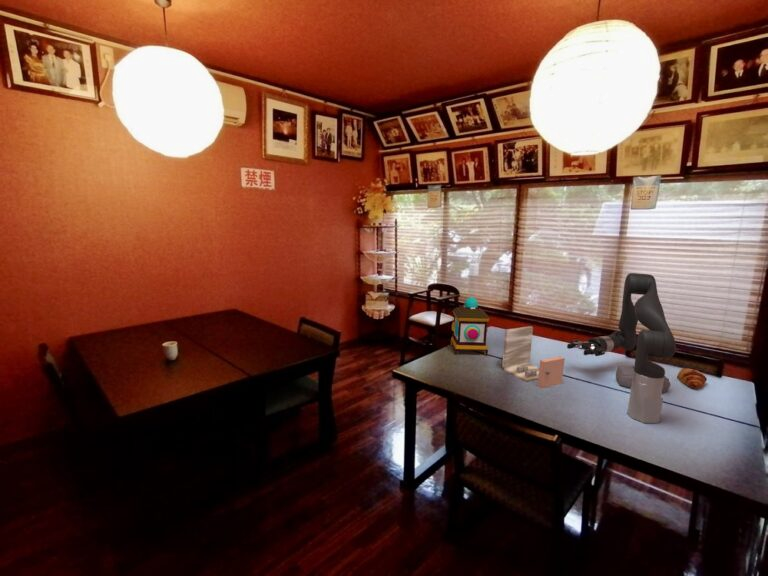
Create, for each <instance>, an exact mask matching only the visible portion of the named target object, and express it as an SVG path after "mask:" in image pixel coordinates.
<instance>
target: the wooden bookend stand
mask: <svg viewBox="0 0 768 576" xmlns="http://www.w3.org/2000/svg"><path fill="white" fill-rule="evenodd" d="M504 330H505V331H504V341H503V342H504V343H503V353H502V354H503V355H502V367H501V369H502V371H503V370H504V371H505V372H507V373H509V374H510V375H512V376H514V377H516V378H518V379H519V380H521V381H523V382H524V383H525V382H526V383H528V382H532V381H538V376H539V367H537V366H535V365H534V364H531V363H530V361H531V353H532V352H531V350H532V342H533V341H532V340H533V332H534V327H533V326H522V327H515V328H508V329H504Z"/></svg>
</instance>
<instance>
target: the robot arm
mask: <svg viewBox="0 0 768 576" xmlns="http://www.w3.org/2000/svg"><path fill="white" fill-rule="evenodd" d="M632 294H633V295H642V296H641V297H639V298H638V299H637V300H636V302H635V303H633V300H632ZM621 303H622V306H621V314H620V318H619V322H618V326H617V327H618V330H615V331H614V332H612V333H611V334H609V335H604V336H596V337H592V338H589V339H588V340H587V341H582V340H581V339H574V340H573V339H571V340H569V342H570V343H567V344H566V348H567V349H568V350H570V349H577V350H582V351H583V355H584V356H588V355H591V356H593V355H594V357H600V356H604V355H605V354H606V353H608V352H610V351H616V350H618V349H623V350H625V351H632V350H634V349H636V351H635V359H634V365H633V366H634V372H633V378H632V385H631V388H630V391H629V392H630V393H629V398H628V403H627V404H628V406H627V413H626V414H627V415H628V416H629V417H630V418H632V419H634V420H635V421H639V422H641V423H643V424H651V423H653V424H657V423H658V424H659V423H660V418H661V411H662V407H663V401H664V399H663V398H662V387H663V382H664V376H665V377H666V369H665V368H664V367H663V366H661V365H660V364H657V363H656V362H653V361H651V360H649V358H648V357H653V358H654V357H655V358H662V359H669V358H672V357H673V356H674V355H675V353H676V349H677V348H676V347H677V346H676V345H677V344H676V340H675V337H674V334H673V333H672V330H671V329H670V327H669V325H668V322H667V319H666V316H665V311H664V308H663V305H662V303H661V300H660V297H659V294H658V287H657V281H656V279H655V276H653V275H651V274H648V273H638V272H637V273H636V272H630V273H628V274H627V275H626V276H625V280H624V285H623V294H622V302H621ZM638 323H640V324H641V325H642V326H644V327H645V328H647V329H641V330H640V331H639V332H638V335H637V325H638Z"/></svg>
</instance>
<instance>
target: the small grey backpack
mask: <svg viewBox="0 0 768 576" xmlns="http://www.w3.org/2000/svg"><path fill="white" fill-rule="evenodd" d="M634 366H635V365H631V366H628V365H618V366H617V368H616V371H615V378H616V382H617V384H618V385H619V386H621V387H625V388H628V389H631V385H632V378H633V372H634ZM670 387H671V382H670V379H669V378H668V377H667V376H666V375H665V376H664V382H663V387H662V393H666V392H668V389H669V388H670ZM662 393H661V394H662Z"/></svg>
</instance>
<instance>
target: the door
mask: <svg viewBox="0 0 768 576" xmlns="http://www.w3.org/2000/svg"><path fill="white" fill-rule="evenodd" d="M565 361H566V360H565V357H564V356H555V357H550V358H545V359H540V360H539V367H538V368H539V376H538V380H537V387H539V388H541V389H544V388H549V387H552V386H558V385H561V384H563V376H564V367H565Z"/></svg>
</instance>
